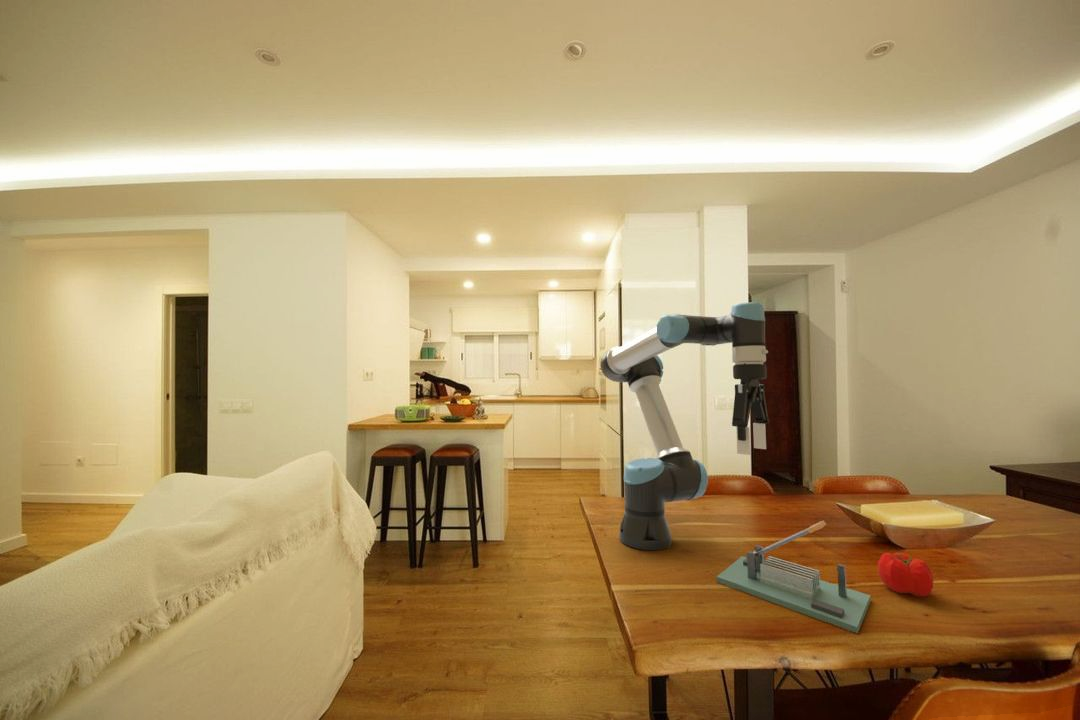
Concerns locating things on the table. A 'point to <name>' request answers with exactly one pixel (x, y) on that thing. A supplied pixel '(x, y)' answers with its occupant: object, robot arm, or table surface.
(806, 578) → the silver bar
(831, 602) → the board
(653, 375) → the robot arm
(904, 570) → the tomato
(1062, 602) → the table surface
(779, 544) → the silver flat strip
